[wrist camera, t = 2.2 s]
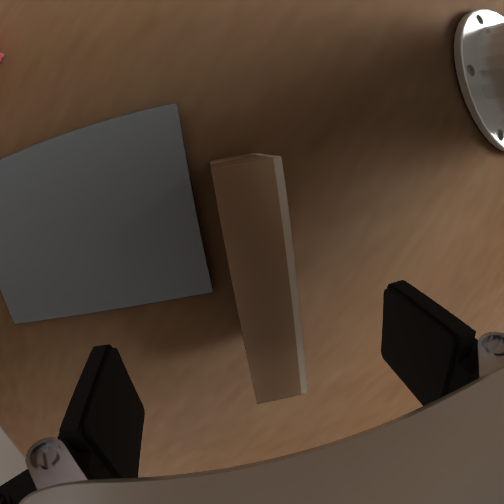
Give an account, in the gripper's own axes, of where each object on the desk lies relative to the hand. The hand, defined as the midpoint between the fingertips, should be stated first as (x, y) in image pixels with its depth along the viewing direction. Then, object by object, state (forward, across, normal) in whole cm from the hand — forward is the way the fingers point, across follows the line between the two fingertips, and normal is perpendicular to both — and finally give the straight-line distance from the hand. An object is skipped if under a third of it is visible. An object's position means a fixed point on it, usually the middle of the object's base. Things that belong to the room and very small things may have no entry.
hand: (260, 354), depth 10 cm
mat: (+10, +9, -4) cm, 14 cm away
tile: (+10, -1, 0) cm, 10 cm away
